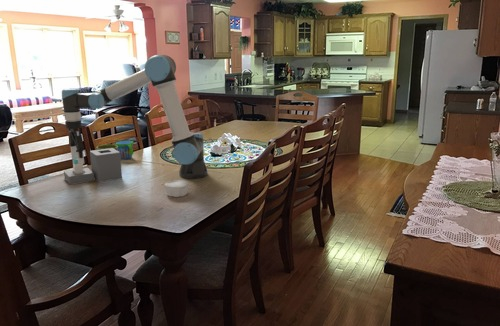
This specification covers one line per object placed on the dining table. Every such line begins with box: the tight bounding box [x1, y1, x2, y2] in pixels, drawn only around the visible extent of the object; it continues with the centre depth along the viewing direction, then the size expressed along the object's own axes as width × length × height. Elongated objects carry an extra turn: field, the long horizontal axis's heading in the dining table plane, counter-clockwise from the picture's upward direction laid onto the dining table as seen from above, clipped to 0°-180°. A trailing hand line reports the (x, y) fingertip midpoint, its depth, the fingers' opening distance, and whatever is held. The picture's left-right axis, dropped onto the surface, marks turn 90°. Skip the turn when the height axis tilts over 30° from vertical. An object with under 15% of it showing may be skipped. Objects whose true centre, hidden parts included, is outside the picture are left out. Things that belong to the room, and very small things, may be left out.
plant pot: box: [96, 144, 118, 151], centre depth 236 cm, size 12×12×11 cm
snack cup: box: [114, 140, 135, 160], centre depth 253 cm, size 16×10×10 cm
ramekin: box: [164, 179, 190, 198], centre depth 190 cm, size 11×11×5 cm
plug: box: [71, 158, 84, 174], centre depth 210 cm, size 4×4×11 cm
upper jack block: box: [89, 148, 123, 183], centre depth 213 cm, size 12×12×14 cm
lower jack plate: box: [63, 167, 96, 185], centre depth 210 cm, size 12×12×4 cm
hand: (78, 161), depth 208 cm, fingers open, 13 cm apart
